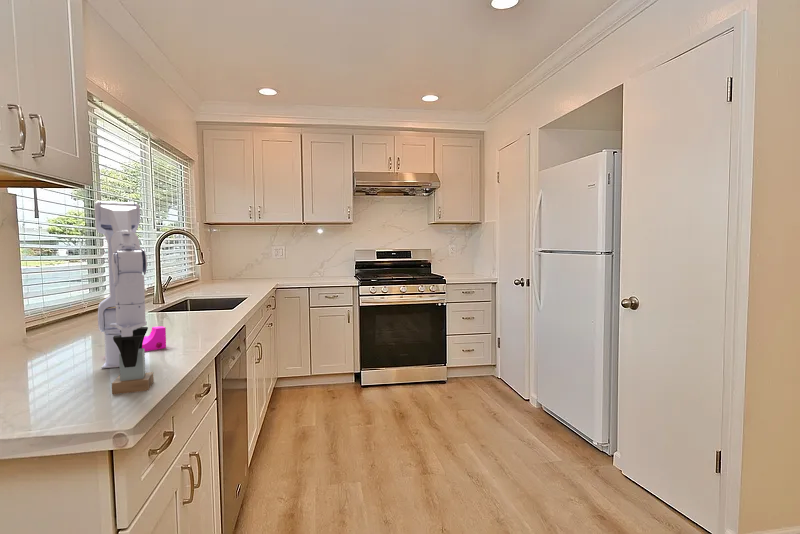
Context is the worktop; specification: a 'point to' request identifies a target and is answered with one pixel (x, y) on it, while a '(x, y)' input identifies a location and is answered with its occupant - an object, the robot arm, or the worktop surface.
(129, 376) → the slate block
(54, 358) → the worktop surface
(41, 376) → the worktop surface
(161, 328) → the toy block
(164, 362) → the worktop surface
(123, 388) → the walnut plinth
